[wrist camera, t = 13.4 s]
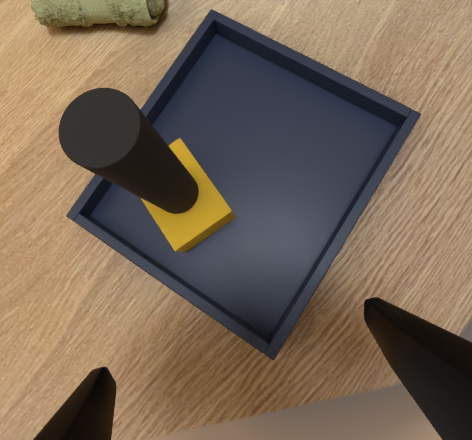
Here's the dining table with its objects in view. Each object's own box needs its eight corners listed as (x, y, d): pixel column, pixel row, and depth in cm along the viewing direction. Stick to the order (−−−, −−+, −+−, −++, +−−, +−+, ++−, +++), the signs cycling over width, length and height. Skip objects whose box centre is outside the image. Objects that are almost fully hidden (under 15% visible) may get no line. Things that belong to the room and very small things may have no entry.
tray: (407, 126, 23) (421, 113, 21) (272, 351, 21) (273, 361, 19) (214, 28, 26) (211, 8, 24) (81, 219, 24) (65, 216, 22)
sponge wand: (235, 217, 22) (205, 160, 10) (185, 252, 22) (88, 242, 10) (189, 152, 24) (108, 24, 11) (141, 185, 24) (2, 96, 11)
